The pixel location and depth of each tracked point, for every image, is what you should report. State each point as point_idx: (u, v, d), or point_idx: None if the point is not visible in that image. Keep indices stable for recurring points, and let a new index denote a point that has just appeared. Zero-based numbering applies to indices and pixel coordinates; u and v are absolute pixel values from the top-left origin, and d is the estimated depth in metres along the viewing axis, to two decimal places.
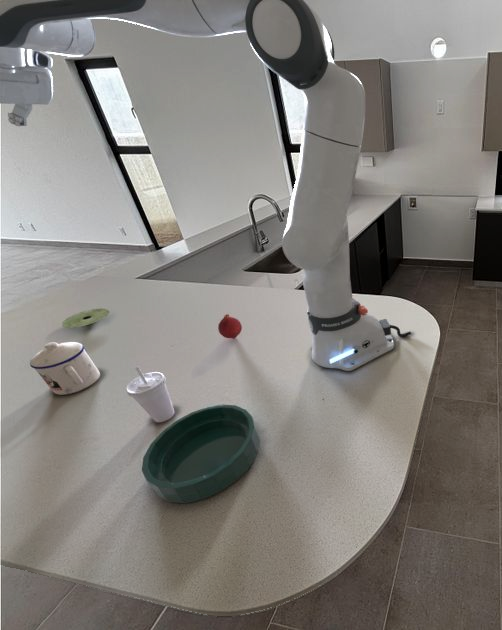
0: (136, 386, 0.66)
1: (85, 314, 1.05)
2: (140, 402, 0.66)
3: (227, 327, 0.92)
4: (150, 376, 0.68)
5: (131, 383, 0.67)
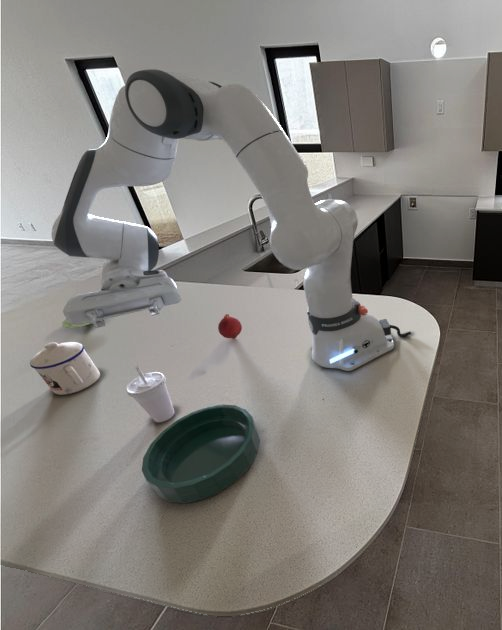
0: (136, 386, 0.66)
1: None
2: (140, 402, 0.66)
3: (227, 327, 0.92)
4: (150, 376, 0.68)
5: (131, 383, 0.67)
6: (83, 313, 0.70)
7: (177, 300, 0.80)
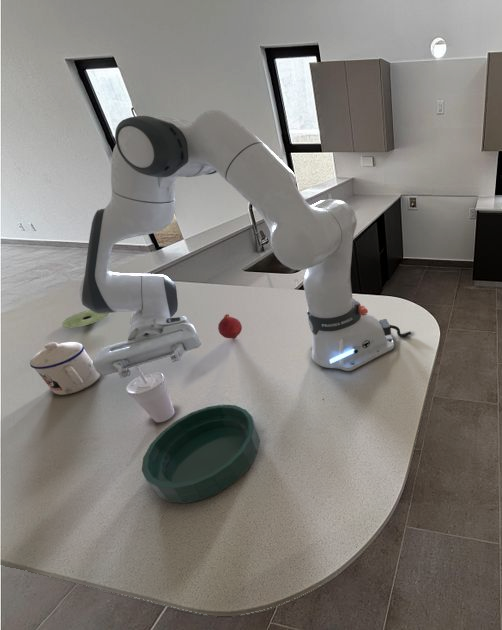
0: (136, 386, 0.66)
1: (85, 314, 1.05)
2: (140, 402, 0.66)
3: (227, 327, 0.92)
4: (150, 376, 0.68)
5: (131, 383, 0.67)
6: (110, 364, 0.74)
7: (197, 345, 0.82)
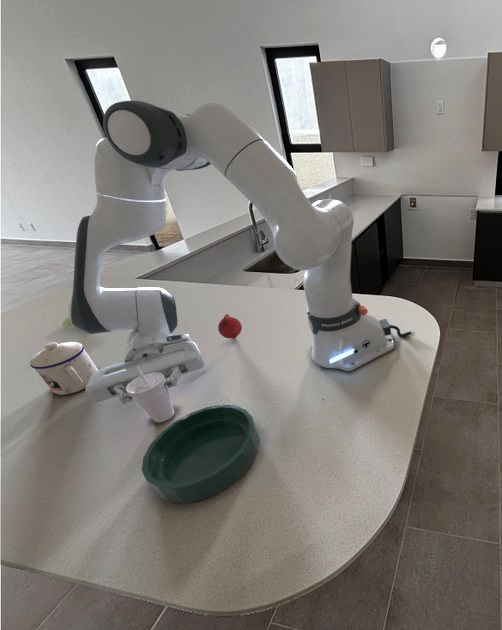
0: (136, 386, 0.66)
1: None
2: (140, 402, 0.66)
3: (227, 327, 0.92)
4: (150, 376, 0.68)
5: (131, 383, 0.67)
6: (105, 390, 0.67)
7: (200, 366, 0.75)
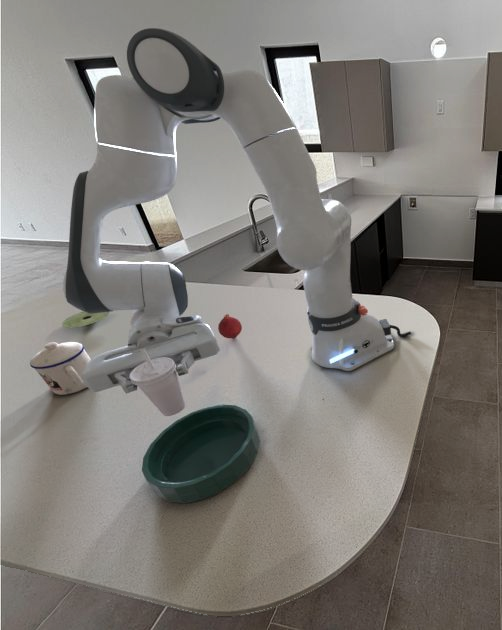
0: (141, 373, 0.56)
1: (85, 314, 1.05)
2: (146, 392, 0.56)
3: (227, 327, 0.92)
4: (158, 362, 0.58)
5: (135, 369, 0.56)
6: (105, 377, 0.57)
7: (215, 351, 0.65)
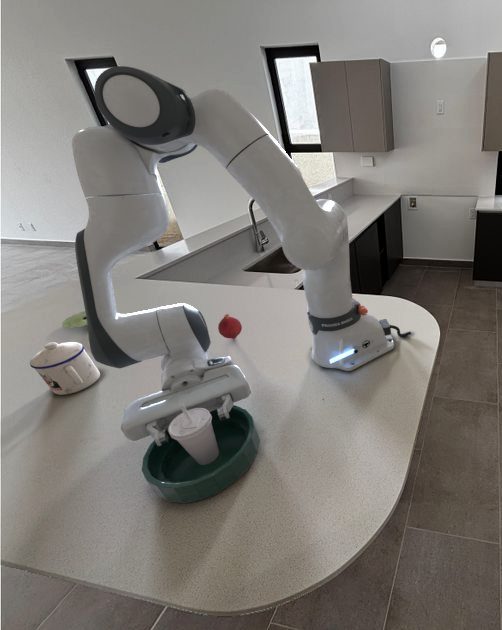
0: (180, 426, 0.57)
1: (85, 314, 1.05)
2: (184, 445, 0.57)
3: (227, 327, 0.92)
4: (194, 413, 0.59)
5: (173, 422, 0.57)
6: (143, 427, 0.57)
7: (247, 394, 0.66)
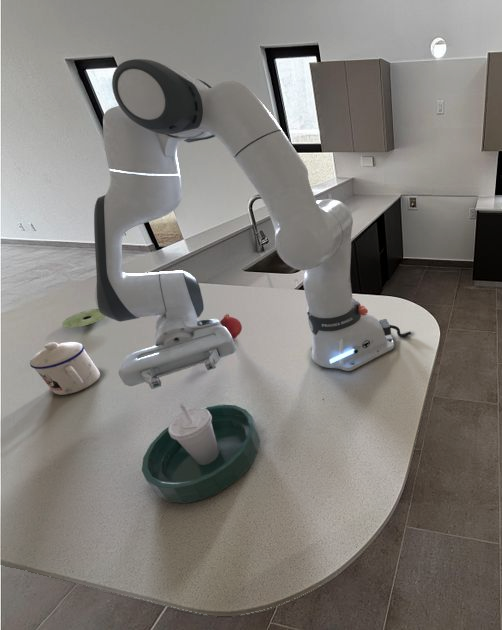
0: (180, 426, 0.57)
1: (85, 314, 1.05)
2: (184, 445, 0.57)
3: (227, 327, 0.92)
4: (194, 413, 0.59)
5: (173, 422, 0.57)
6: (138, 374, 0.65)
7: (232, 350, 0.73)
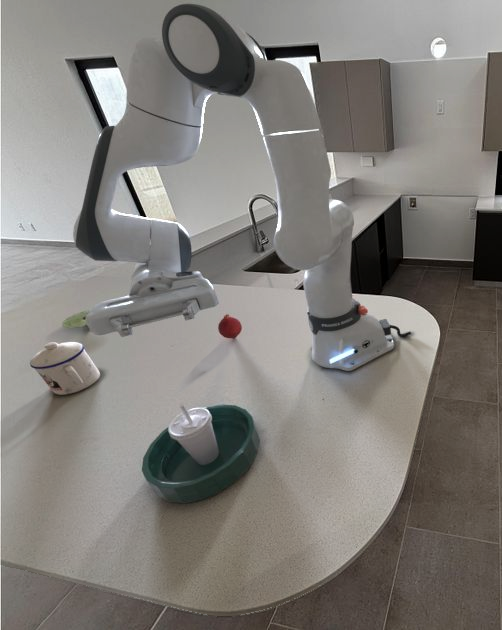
0: (180, 426, 0.57)
1: (85, 314, 1.05)
2: (184, 445, 0.57)
3: (227, 327, 0.92)
4: (194, 413, 0.59)
5: (173, 422, 0.57)
6: (107, 321, 0.59)
7: (214, 303, 0.67)
